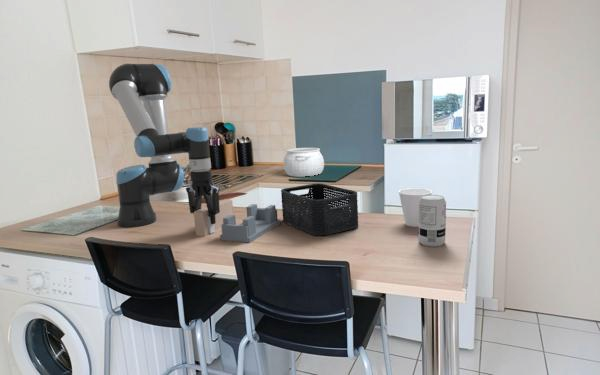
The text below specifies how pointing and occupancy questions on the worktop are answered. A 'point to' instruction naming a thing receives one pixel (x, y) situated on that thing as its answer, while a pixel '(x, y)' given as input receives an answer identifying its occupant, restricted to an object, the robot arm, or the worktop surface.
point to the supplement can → (432, 220)
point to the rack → (250, 224)
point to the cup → (412, 204)
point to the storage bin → (320, 209)
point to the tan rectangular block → (225, 211)
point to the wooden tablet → (226, 196)
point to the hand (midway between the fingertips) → (206, 231)
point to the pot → (303, 162)
